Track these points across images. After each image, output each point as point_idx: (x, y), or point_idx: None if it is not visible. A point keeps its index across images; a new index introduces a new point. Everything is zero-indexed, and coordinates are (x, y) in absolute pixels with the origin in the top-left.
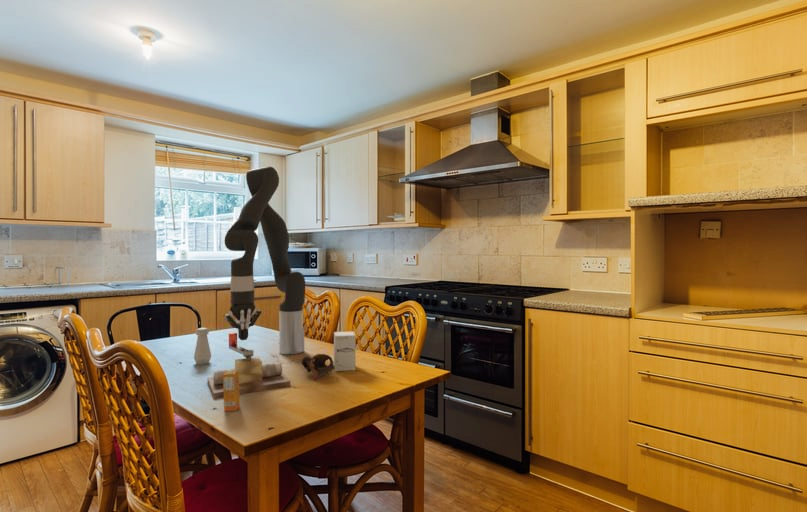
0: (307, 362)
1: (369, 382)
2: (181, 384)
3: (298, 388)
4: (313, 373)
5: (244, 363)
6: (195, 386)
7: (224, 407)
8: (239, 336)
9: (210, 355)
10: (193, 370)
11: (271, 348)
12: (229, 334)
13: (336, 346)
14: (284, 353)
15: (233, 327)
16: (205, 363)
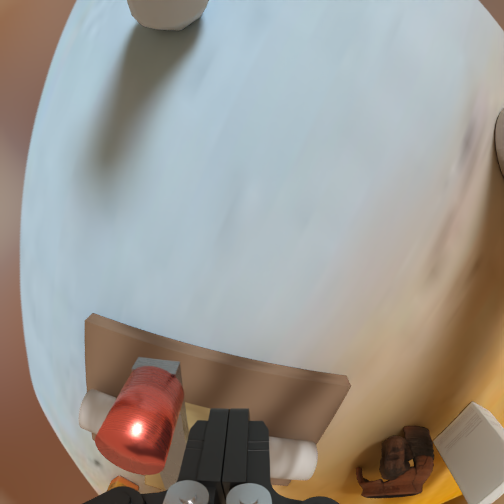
0: (383, 473)
1: (397, 501)
2: (31, 264)
3: (287, 490)
4: (358, 481)
5: (165, 489)
6: (60, 319)
7: (109, 485)
8: (195, 439)
9: (197, 7)
10: (99, 100)
11: (489, 42)
12: (100, 449)
13: (460, 488)
14: (500, 163)
15: (119, 494)
16: (177, 29)
